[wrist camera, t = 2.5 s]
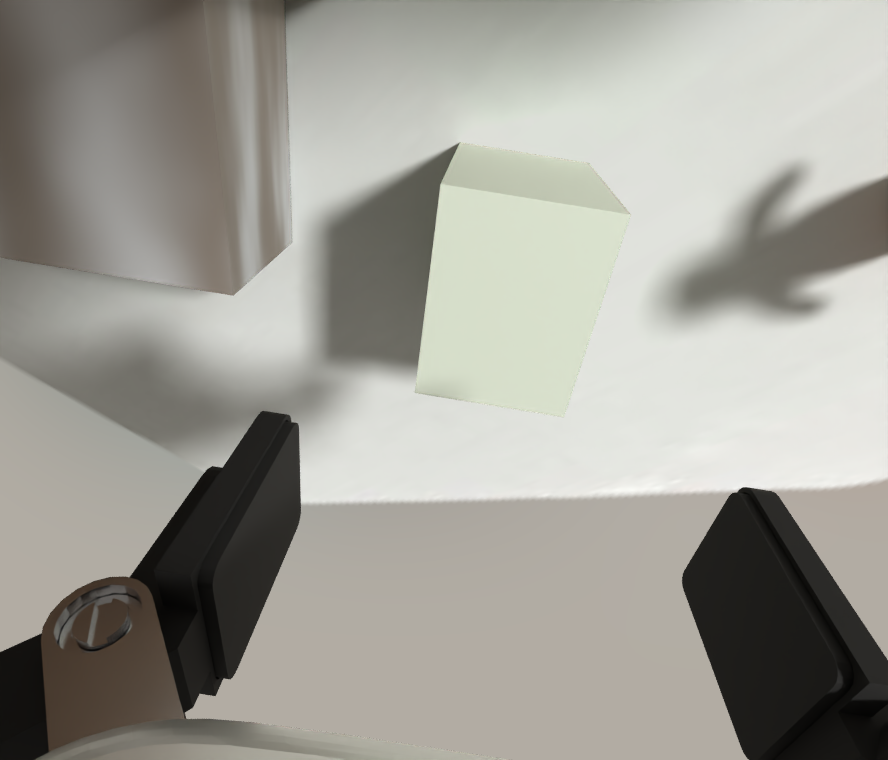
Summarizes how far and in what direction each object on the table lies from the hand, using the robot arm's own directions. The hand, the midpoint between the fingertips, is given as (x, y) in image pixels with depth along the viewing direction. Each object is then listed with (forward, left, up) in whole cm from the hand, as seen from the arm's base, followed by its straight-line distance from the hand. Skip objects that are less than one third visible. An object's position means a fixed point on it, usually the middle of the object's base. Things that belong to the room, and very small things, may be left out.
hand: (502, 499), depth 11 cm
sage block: (0, 0, -18) cm, 18 cm away
